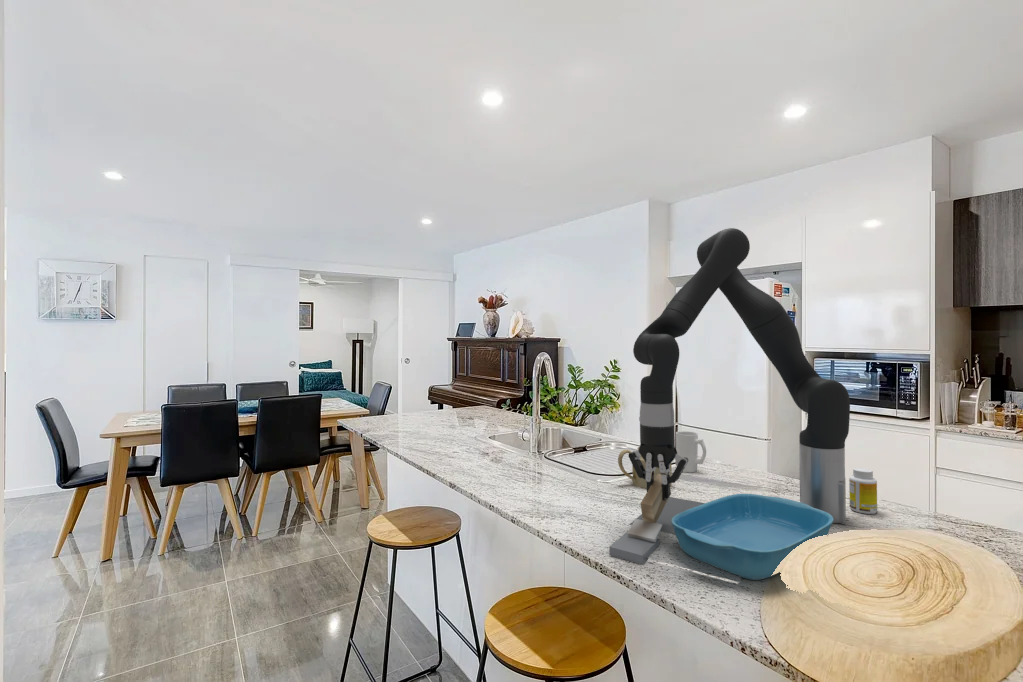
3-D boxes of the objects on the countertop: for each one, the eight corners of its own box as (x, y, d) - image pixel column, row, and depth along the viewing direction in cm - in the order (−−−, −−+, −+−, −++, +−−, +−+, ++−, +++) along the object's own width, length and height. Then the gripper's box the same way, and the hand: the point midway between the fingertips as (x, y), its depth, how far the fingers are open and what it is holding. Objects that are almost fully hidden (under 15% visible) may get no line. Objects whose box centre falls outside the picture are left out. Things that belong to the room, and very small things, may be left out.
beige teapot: (647, 496, 134) (646, 442, 134) (616, 487, 143) (615, 435, 143) (679, 486, 143) (679, 434, 143) (648, 477, 152) (647, 429, 152)
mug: (671, 469, 160) (671, 433, 160) (683, 466, 164) (683, 430, 164) (700, 476, 152) (700, 437, 152) (711, 472, 156) (711, 434, 156)
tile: (658, 539, 102) (642, 555, 95) (659, 549, 102) (642, 566, 95) (627, 531, 107) (609, 546, 99) (627, 541, 107) (609, 557, 99)
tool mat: (710, 506, 126) (710, 504, 126) (681, 538, 107) (681, 536, 107) (663, 497, 133) (663, 495, 133) (629, 526, 114) (629, 524, 114)
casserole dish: (745, 514, 121) (745, 485, 121) (849, 544, 103) (849, 510, 103) (651, 556, 99) (650, 521, 99) (762, 604, 81) (762, 561, 81)
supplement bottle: (882, 512, 120) (882, 470, 120) (868, 516, 118) (868, 473, 118) (858, 505, 125) (857, 465, 125) (844, 509, 123) (844, 468, 123)
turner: (678, 494, 114) (676, 476, 112) (655, 542, 101) (652, 521, 99) (653, 490, 117) (650, 472, 116) (627, 536, 104) (624, 515, 103)
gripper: (693, 422, 110) (694, 499, 110) (633, 417, 118) (635, 489, 118) (683, 427, 104) (684, 509, 104) (621, 422, 112) (622, 498, 112)
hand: (658, 498), depth 111 cm, fingers closed on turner
